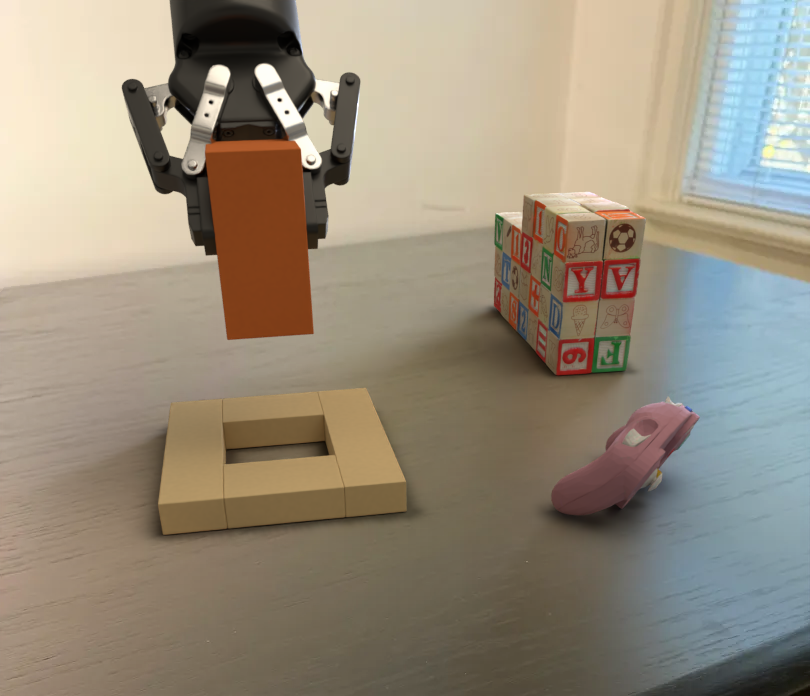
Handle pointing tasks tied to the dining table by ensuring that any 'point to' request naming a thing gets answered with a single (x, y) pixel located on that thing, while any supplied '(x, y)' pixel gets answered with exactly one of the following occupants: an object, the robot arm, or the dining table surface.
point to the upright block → (260, 237)
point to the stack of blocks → (570, 278)
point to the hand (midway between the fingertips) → (261, 243)
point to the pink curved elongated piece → (627, 460)
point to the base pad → (276, 462)
